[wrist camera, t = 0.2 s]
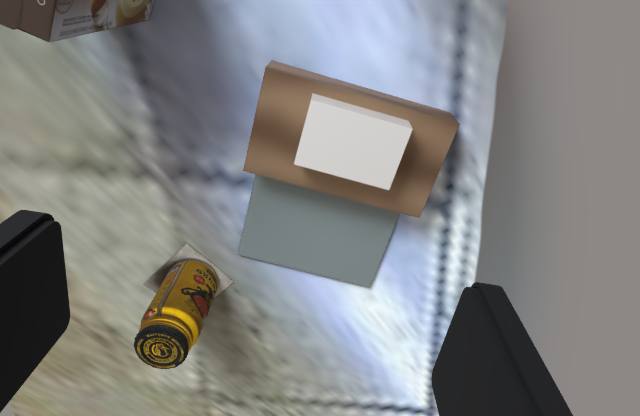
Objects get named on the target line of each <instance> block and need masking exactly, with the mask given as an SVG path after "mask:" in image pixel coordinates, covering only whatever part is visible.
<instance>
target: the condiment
mask: <svg viewBox="0 0 640 416" xmlns="http://www.w3.org/2000/svg"><path fill="white" fill-rule="evenodd" d="M232 283H234V282H233V281H232V280H231V279H230V278H228V277H227V276H226V275H225V274H224V273H223V272H222V271H220V270H219V269H218V268H217V267H216V266H214V265H213V264H212V263H211V262H209V261H208V260H207V259H206V258H204V257H203V256H202V255H200V254H199V253H197V252H196V251H195V250H194V249H193V248H191V247H190V246H189V245H188V244H186V245H185V246H184V247H183V248H182V249H181V250H180V251H178V252H177V253H176V254H175V255H174V256H173V257H172V258H171V259H170V260H169V261H167V262H166V263H165V264H164V265H163V266H162V267H161V268H160V269H159V270H158V271H157V272H156V273H155V274H153V275H152V276H151V277H150V278H149V279H148V280H147V281H146V282H145V283H144V284H143V285H145V286H146V287H148V288H150V289H151V290H153V291H154V292H155V293H157V294H156V295H155V297H154V299H153V300H152V302H151V304H150V306H149V307H148V309H147V311H146V312H145V314H144V316H143V318H142V321H141V328H140V330H139V333H138V334H137V336H136V337H135V342H134V348H135V351H136V353H137V355H138V357H139V358H140V359H141V360H142V361H143V362H145V363H146V364H148V365H150V366H152V367H155V368H160V369H169V368H175V367H177V366H178V365H180V364H181V363H182V362H183V361H184V360H185V358H186V357H187V355H188V352H189V351H190V349H191V347H192V346H193V345H194V344H195V343H196V341H197V339H198V337H199V335H200V332H201V330H202V327H203V324H204V321H205V319H206V317H207V314H208V311H209V309H210V306H211V304H212V301H213V299H214V298H215V297H216V296H217V295H219V294H220V293H221V292H222V291H223V290H225V289H226V288H227V287H228V286H229V285H231V284H232Z"/></svg>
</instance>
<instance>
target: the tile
mask: <svg viewBox="0 0 640 416" xmlns="http://www.w3.org/2000/svg"><path fill="white" fill-rule="evenodd" d="M412 130H413V128H412V126H411V124H410V123H409V121H407V120H404V119H400V118H397V117H393V116H390V115H387V114H383V113H380V112H376V111H373V110H369V109H366V108H362V107H359V106H355V105H352V104H348V103H345V102H341V101H338V100H335V99H331V98H328V97H324V96H321V95H317V94H314V93H313V94H312V97H311V101H310V105H309V108H308V112H307V116H306V120H305V123H304V127H303V131H302V134H301V138H300V142H299V146H298V149H297V153H296V157H295V161H294V165H298V166H302V167H305V168H309V169H313V170H316V171H320V172H324V173H327V174H331V175H335V176H338V177H342V178H346V179H349V180H353V181H357V182H360V183H364V184H368V185H371V186H375V187H379V188H382V189H386V190H389V189H390V187H391V184H392V182H393V179H394V176H395V174H396V171H397V169H398V166H399V163H400V161H401V158H402V156H403V153H404V150H405V148H406V145H407V143H408V140H409V137H410V135H411V132H412Z"/></svg>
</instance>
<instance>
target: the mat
mask: <svg viewBox="0 0 640 416" xmlns="http://www.w3.org/2000/svg"><path fill="white" fill-rule="evenodd" d="M399 214H400V213H399V212H395V211H392V210H388V209H384V208H381V207H377V206H373V205H369V204H366V203H362V202H358V201H354V200H351V199H347V198H343V197H340V196H336V195H332V194H328V193H325V192H321V191H317V190H314V189H310V188H306V187H302V186H299V185H295V184H291V183H287V182H284V181H280V180H276V179H273V178H269V177H265V176H261V175H258V174H256V176H255V181H254V185H253V189H252V194H251V198H250V202H249V207H248V211H247V215H246V220H245V224H244V229H243V233H242V237H241V242H240V246H239V250H238V255H242V256H246V257H249V258H253V259H257V260H261V261H265V262H269V263H273V264H277V265H281V266H285V267H289V268H293V269H297V270H301V271H305V272H309V273H313V274H317V275H321V276H325V277H329V278H333V279H337V280H341V281H345V282H349V283H353V284H357V285H361V286H365V287H369V288H370V285H371V283H372V280H373V278H374V275H375V273H376V270H377V268H378V266H379V263H380V261H381V258H382V256H383V253H384V251H385V248H386V246H387V243H388V241H389V239H390V236H391V234H392V231H393V229H394V226H395V224H396V221H397V219H398V216H399Z"/></svg>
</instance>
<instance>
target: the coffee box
mask: <svg viewBox="0 0 640 416" xmlns="http://www.w3.org/2000/svg"><path fill="white" fill-rule="evenodd" d="M153 3H154V0H0V24H1V25H4V26H6V27H9V28H11V29H19V30H21V31H24V32H26V33H29V34H31V35H33V36H36V37H38V38H40V39H43V40H45V41H47V42H53V41H58V40H62V39H67V38H71V37H75V36H80V35H84V34H89V33H93V32H98V31H103V30H107V29H111V28H116V27H121V26H125V25H129V24H134V23H138V22H143V21H147V20H148V19H149V17H150V14H151V10H152V7H153Z"/></svg>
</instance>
